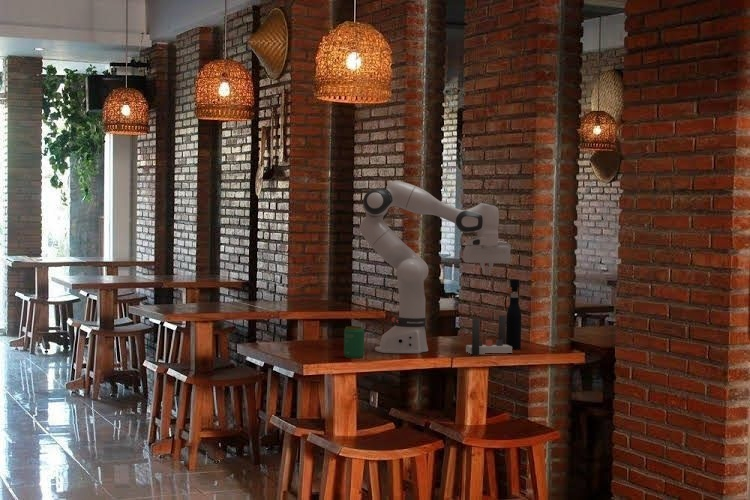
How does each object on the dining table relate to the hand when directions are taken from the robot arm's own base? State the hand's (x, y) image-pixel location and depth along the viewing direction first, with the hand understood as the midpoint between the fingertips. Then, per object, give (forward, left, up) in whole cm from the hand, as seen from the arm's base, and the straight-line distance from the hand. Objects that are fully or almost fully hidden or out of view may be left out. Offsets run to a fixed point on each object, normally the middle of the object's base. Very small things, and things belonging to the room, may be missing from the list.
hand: (486, 273), depth 447 cm
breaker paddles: (0, -5, -30) cm, 30 cm away
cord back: (+8, +2, -33) cm, 34 cm away
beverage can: (-59, -11, -33) cm, 68 cm away
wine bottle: (+15, +7, -33) cm, 37 cm away
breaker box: (0, -5, -33) cm, 33 cm away
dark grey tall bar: (-8, -11, -33) cm, 36 cm away
